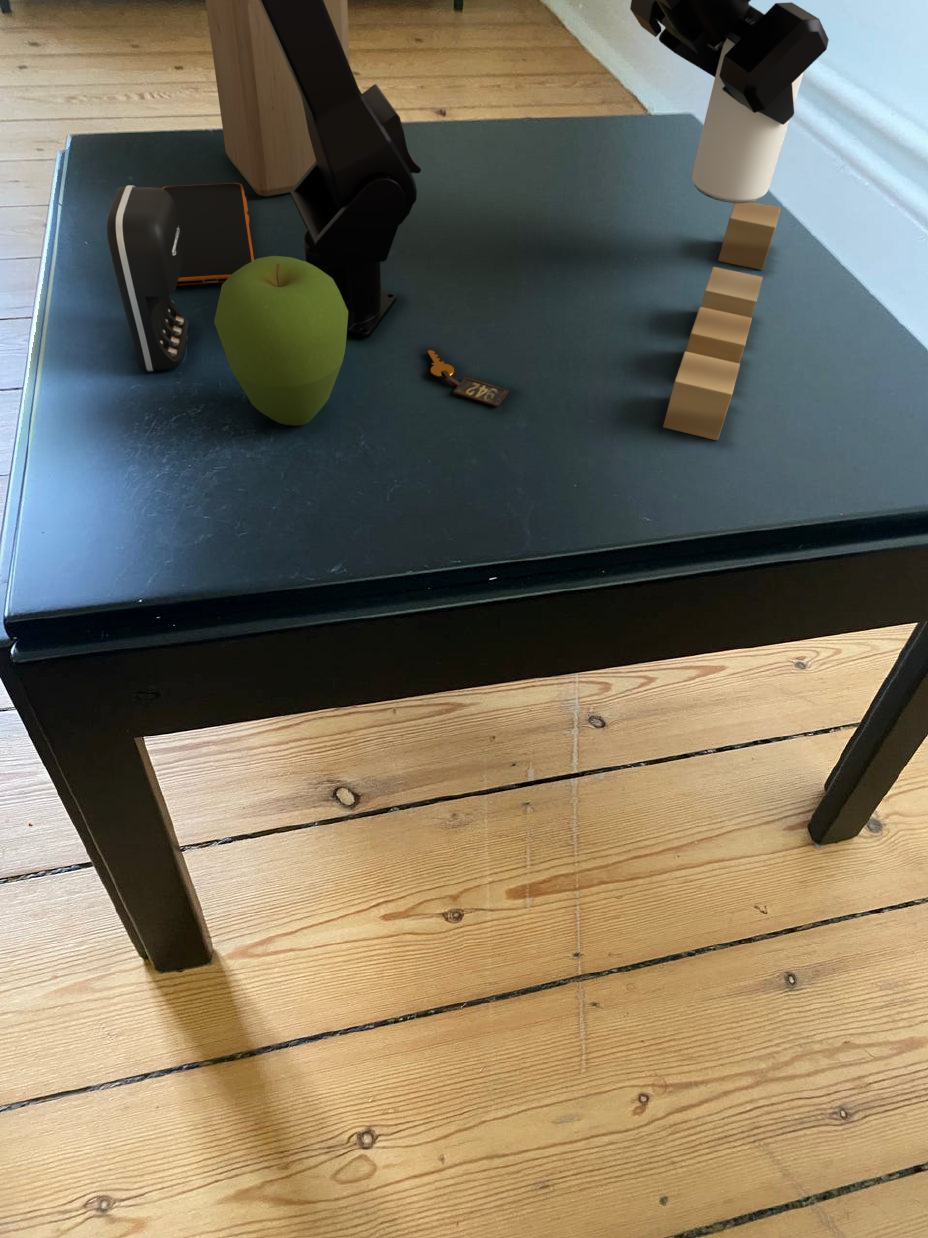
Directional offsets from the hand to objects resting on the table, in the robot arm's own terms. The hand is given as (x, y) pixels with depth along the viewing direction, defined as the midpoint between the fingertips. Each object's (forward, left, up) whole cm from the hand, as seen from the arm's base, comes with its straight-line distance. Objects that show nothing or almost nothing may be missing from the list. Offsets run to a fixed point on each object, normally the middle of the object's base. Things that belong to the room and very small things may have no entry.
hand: (765, 102), depth 76 cm
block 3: (-18, -2, -13) cm, 22 cm away
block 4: (-24, -2, -13) cm, 28 cm away
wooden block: (0, +42, -13) cm, 44 cm away
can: (-1, +1, -7) cm, 7 cm away
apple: (-35, +25, -13) cm, 46 cm away
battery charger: (-31, +37, -13) cm, 51 cm away
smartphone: (-15, +43, -13) cm, 48 cm away
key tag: (-26, +15, -13) cm, 33 cm away
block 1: (+2, -2, -13) cm, 13 cm away
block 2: (-11, -2, -13) cm, 18 cm away
